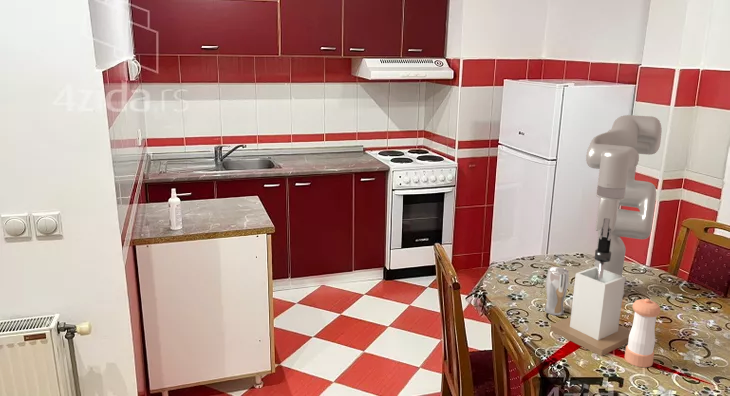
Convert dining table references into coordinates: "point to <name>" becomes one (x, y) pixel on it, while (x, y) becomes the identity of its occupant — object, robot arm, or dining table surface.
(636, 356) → the salt shaker
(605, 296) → the white pen holder
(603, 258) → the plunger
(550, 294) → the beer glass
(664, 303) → the dining table surface
